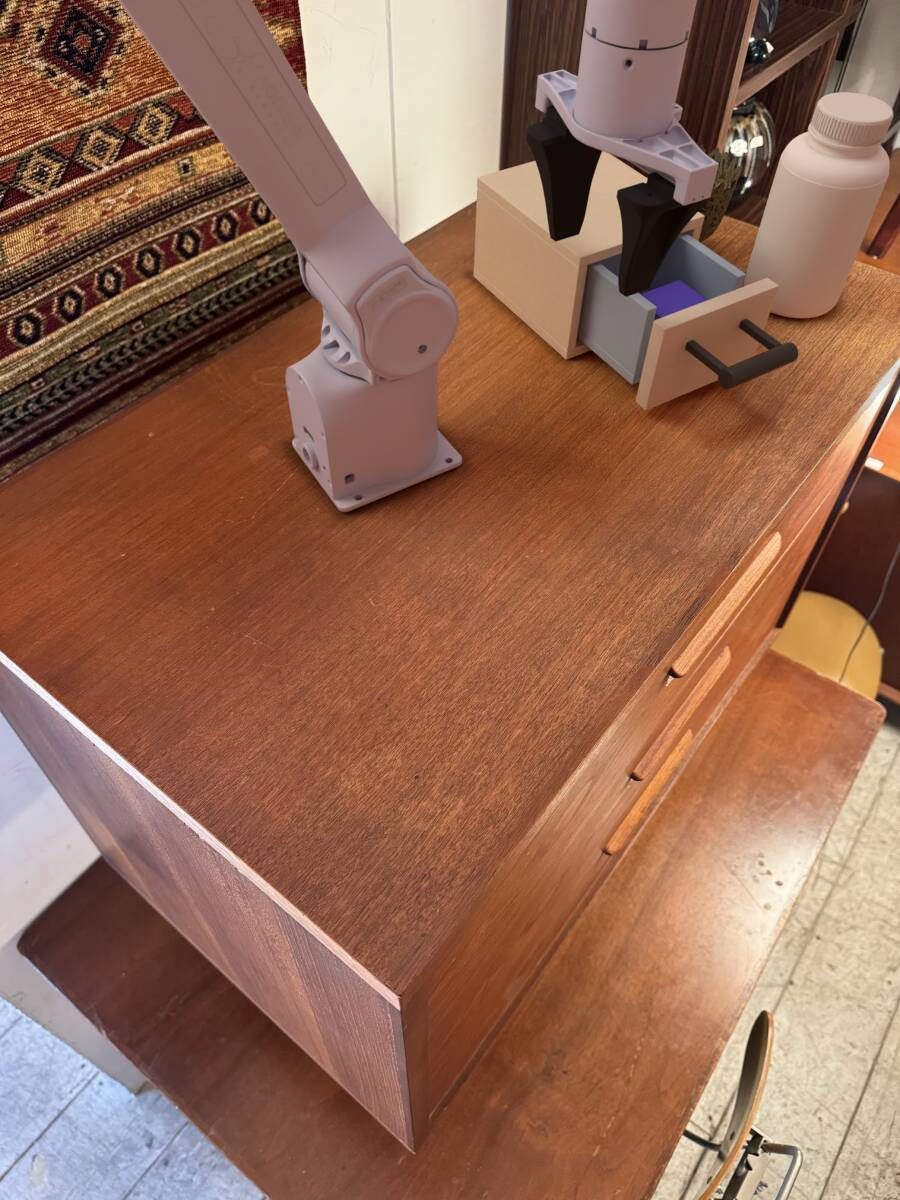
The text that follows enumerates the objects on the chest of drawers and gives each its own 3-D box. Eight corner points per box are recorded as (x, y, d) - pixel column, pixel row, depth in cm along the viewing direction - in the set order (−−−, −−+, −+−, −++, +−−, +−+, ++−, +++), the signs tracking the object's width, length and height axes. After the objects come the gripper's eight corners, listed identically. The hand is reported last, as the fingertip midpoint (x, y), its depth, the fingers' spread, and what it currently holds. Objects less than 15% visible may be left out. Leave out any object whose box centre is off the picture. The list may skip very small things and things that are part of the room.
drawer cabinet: (679, 316, 71) (705, 215, 65) (566, 360, 68) (580, 257, 61) (581, 241, 78) (594, 143, 72) (473, 276, 75) (477, 176, 68)
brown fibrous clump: (672, 222, 81) (691, 133, 74) (734, 255, 77) (760, 165, 71) (616, 249, 78) (632, 158, 71) (679, 284, 74) (701, 192, 68)
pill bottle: (827, 271, 76) (899, 86, 64) (844, 325, 71) (925, 134, 59) (736, 265, 76) (791, 80, 64) (746, 318, 71) (808, 127, 60)
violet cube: (662, 369, 64) (672, 326, 61) (625, 338, 66) (633, 296, 63) (707, 350, 65) (719, 308, 62) (669, 321, 67) (679, 279, 65)
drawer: (798, 401, 63) (832, 320, 58) (690, 450, 60) (715, 369, 55) (647, 286, 72) (663, 207, 67) (545, 323, 69) (554, 243, 64)
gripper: (786, 63, 45) (717, 298, 55) (612, -22, 52) (581, 200, 63) (681, 90, 42) (630, 331, 53) (515, -2, 50) (500, 224, 60)
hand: (598, 262), depth 58 cm, fingers open, 7 cm apart
